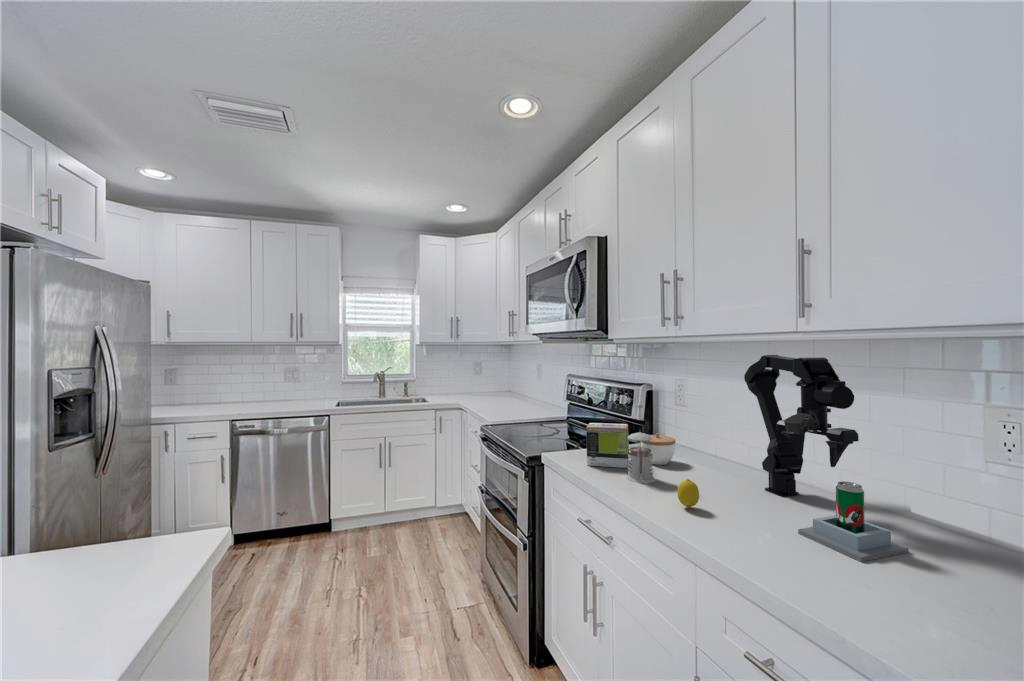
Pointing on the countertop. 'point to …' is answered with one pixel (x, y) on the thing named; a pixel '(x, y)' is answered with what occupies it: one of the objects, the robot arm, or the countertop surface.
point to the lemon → (688, 493)
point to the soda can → (850, 507)
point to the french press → (640, 459)
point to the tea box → (607, 445)
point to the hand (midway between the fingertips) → (815, 462)
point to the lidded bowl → (660, 448)
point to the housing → (853, 539)
